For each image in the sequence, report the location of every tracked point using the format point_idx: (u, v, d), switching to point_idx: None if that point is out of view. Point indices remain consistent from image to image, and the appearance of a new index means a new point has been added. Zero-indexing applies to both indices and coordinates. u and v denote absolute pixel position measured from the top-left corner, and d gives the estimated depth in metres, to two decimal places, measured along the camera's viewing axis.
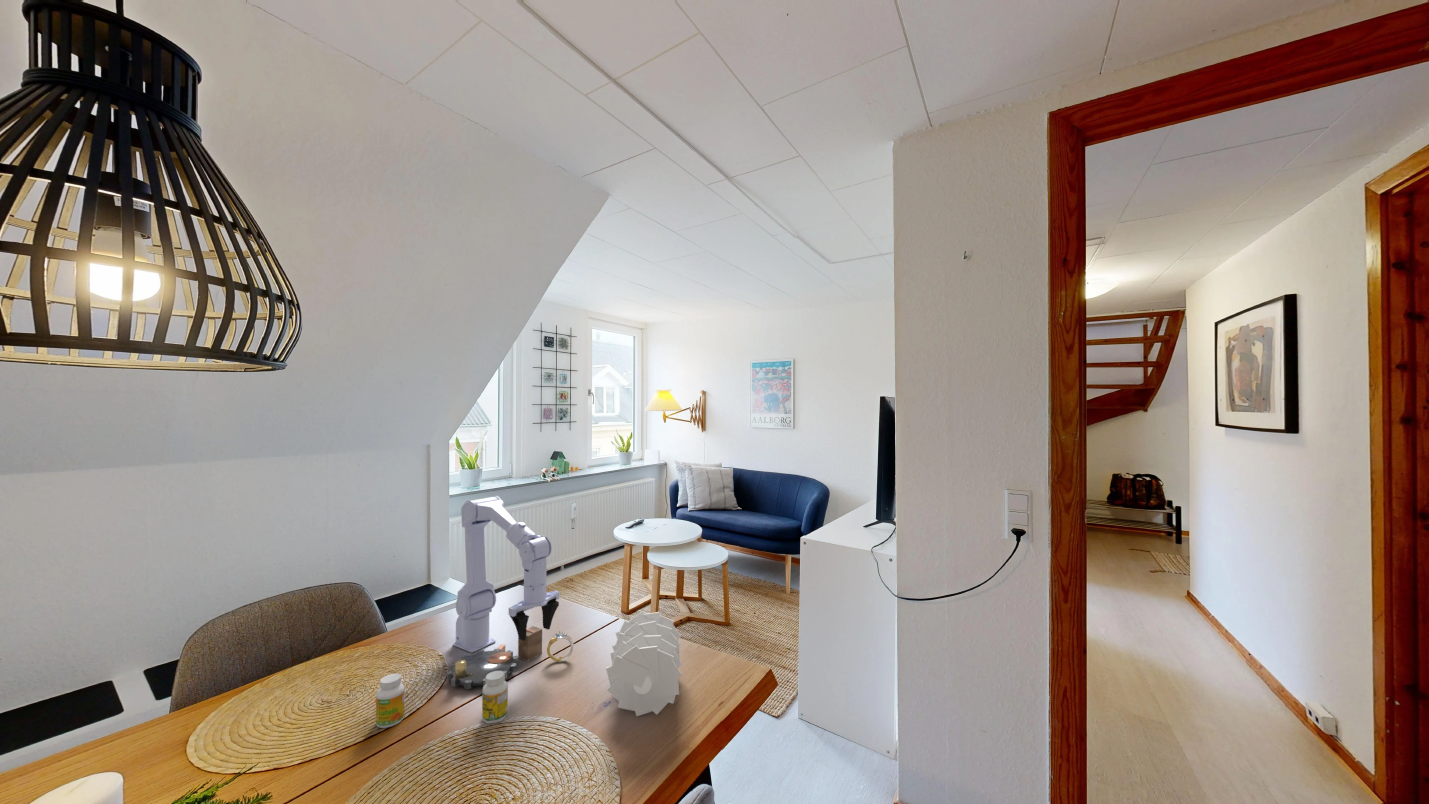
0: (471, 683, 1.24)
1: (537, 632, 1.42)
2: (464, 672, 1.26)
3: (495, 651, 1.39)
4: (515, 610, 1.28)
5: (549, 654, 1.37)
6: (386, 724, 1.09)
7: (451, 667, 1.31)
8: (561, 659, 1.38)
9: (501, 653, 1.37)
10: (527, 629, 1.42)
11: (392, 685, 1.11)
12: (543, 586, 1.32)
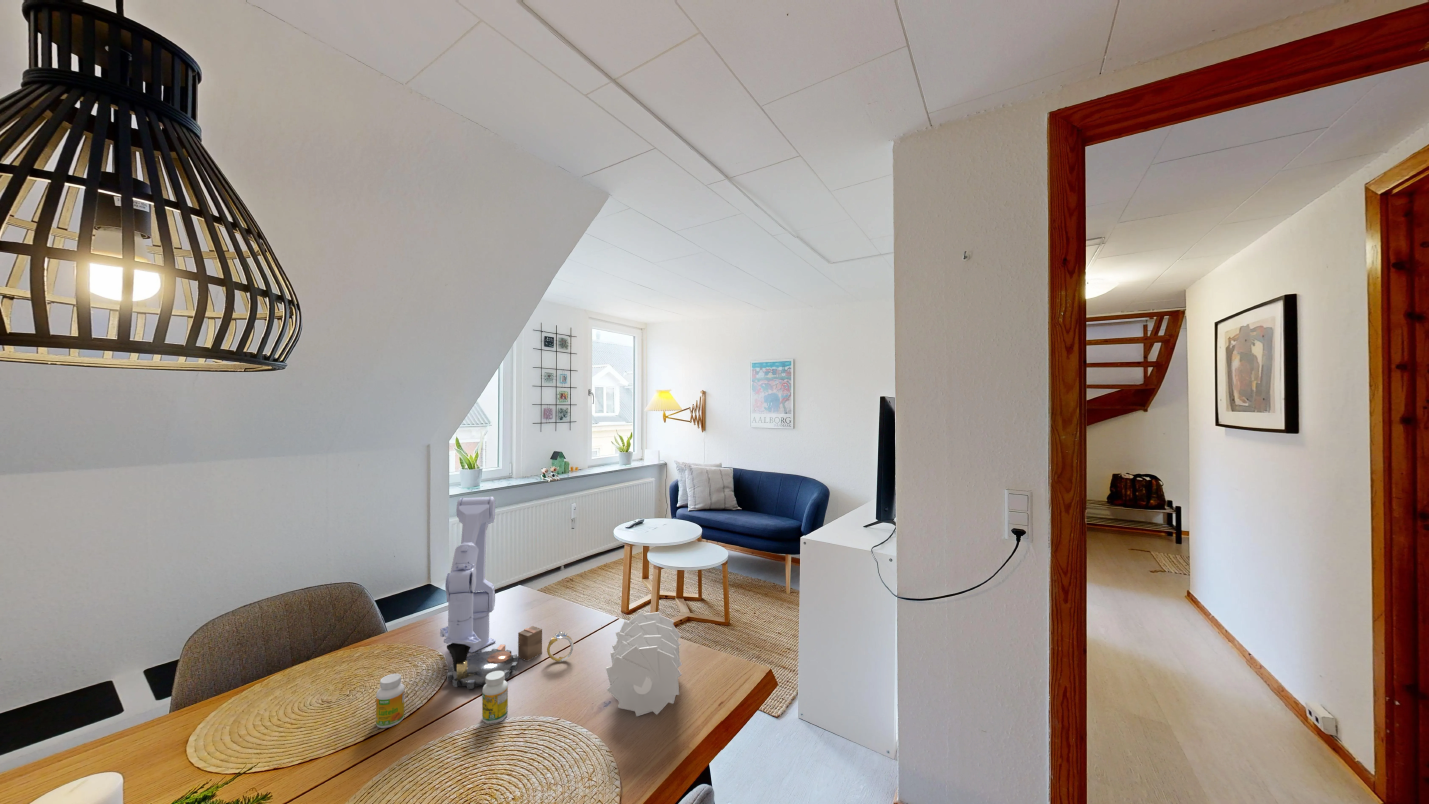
0: (474, 683, 1.24)
1: (537, 632, 1.42)
2: (466, 672, 1.26)
3: (493, 651, 1.39)
4: (441, 631, 1.30)
5: (549, 654, 1.37)
6: (386, 724, 1.09)
7: (450, 668, 1.30)
8: (561, 659, 1.38)
9: (500, 653, 1.37)
10: (527, 629, 1.42)
11: (392, 685, 1.11)
12: (451, 623, 1.24)
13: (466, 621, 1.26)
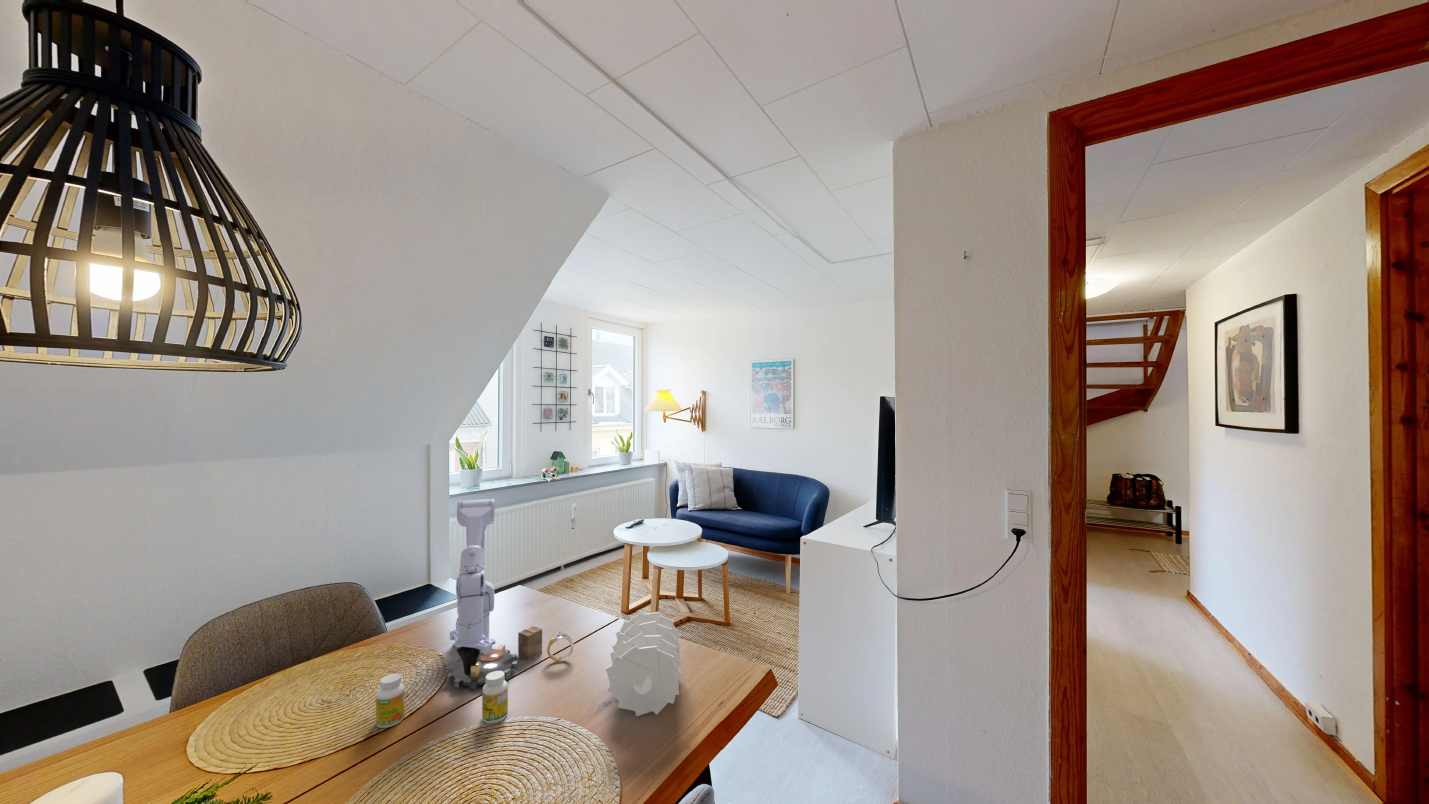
0: None
1: (537, 632, 1.42)
2: (480, 672, 1.26)
3: None
4: (451, 634, 1.28)
5: (549, 654, 1.37)
6: (386, 724, 1.09)
7: (450, 677, 1.26)
8: (561, 659, 1.38)
9: None
10: (527, 629, 1.42)
11: (392, 685, 1.11)
12: (461, 627, 1.23)
13: (476, 624, 1.24)
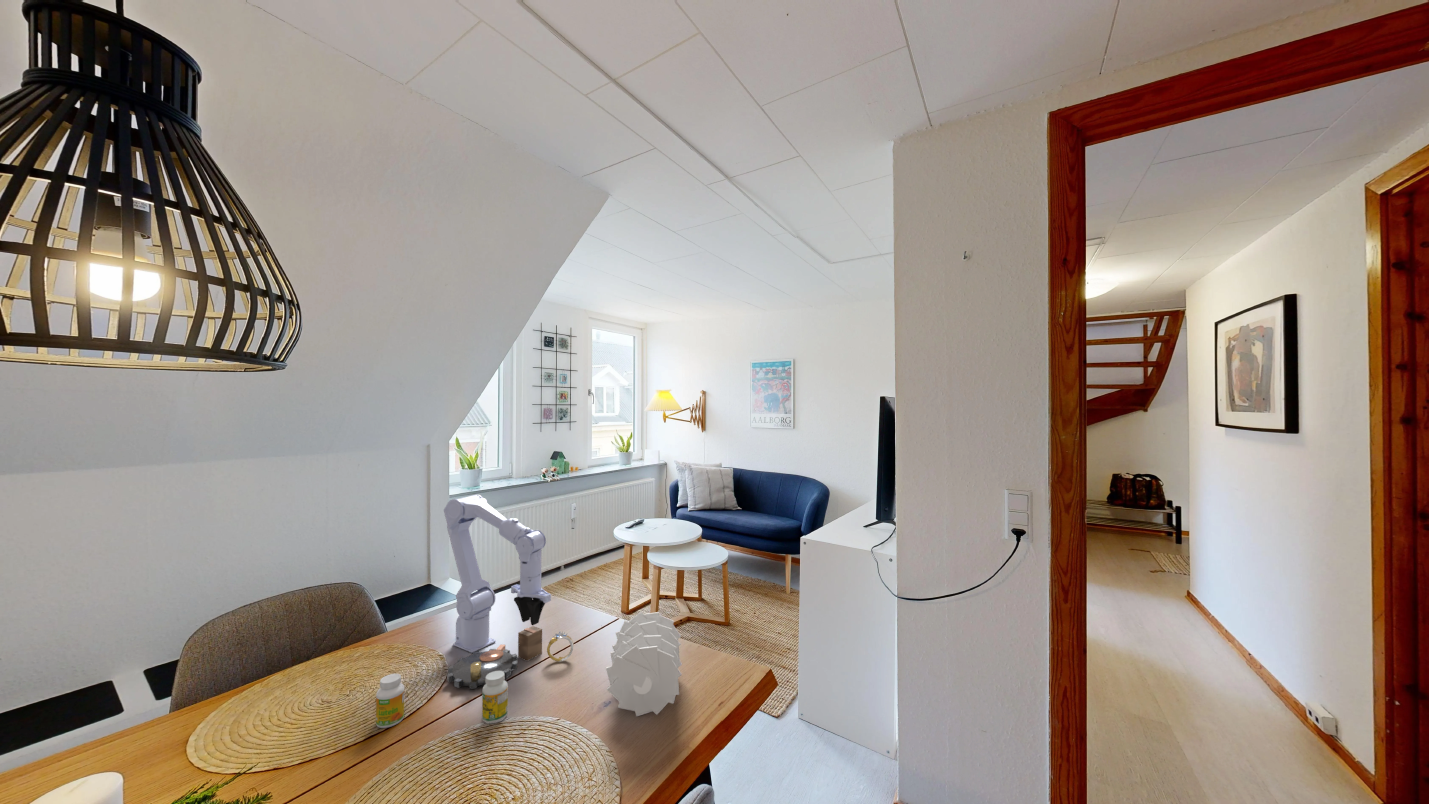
0: None
1: (537, 632, 1.42)
2: (480, 672, 1.26)
3: (477, 654, 1.37)
4: (512, 588, 1.44)
5: (549, 654, 1.37)
6: (386, 724, 1.09)
7: (450, 677, 1.26)
8: (561, 659, 1.38)
9: (487, 652, 1.37)
10: (527, 629, 1.42)
11: (392, 685, 1.11)
12: (524, 579, 1.39)
13: (536, 577, 1.40)
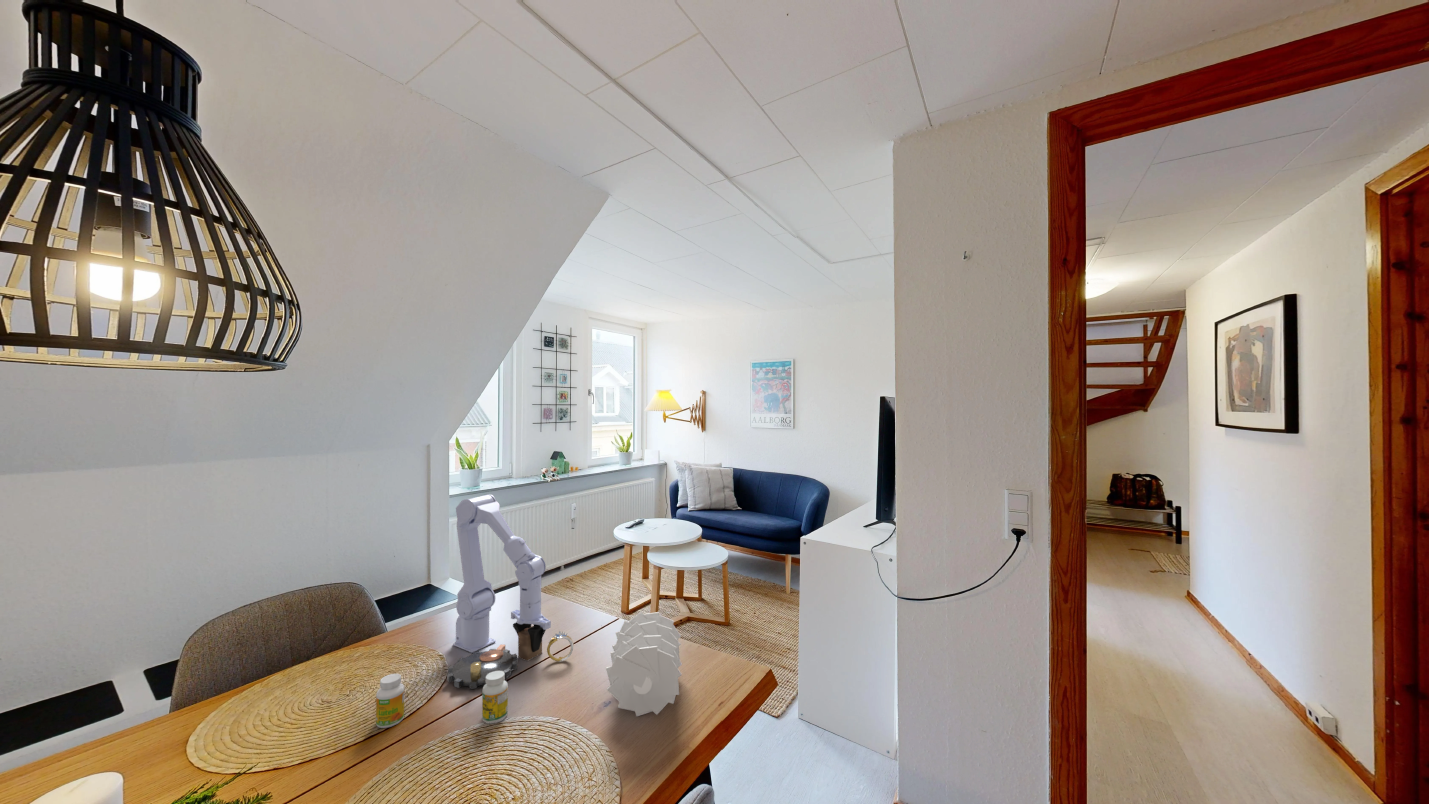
0: None
1: None
2: (480, 672, 1.26)
3: (477, 654, 1.37)
4: (512, 614, 1.44)
5: (549, 654, 1.37)
6: (386, 724, 1.09)
7: (450, 677, 1.26)
8: (561, 659, 1.38)
9: (487, 652, 1.37)
10: None
11: (392, 685, 1.11)
12: (523, 606, 1.39)
13: (536, 604, 1.40)
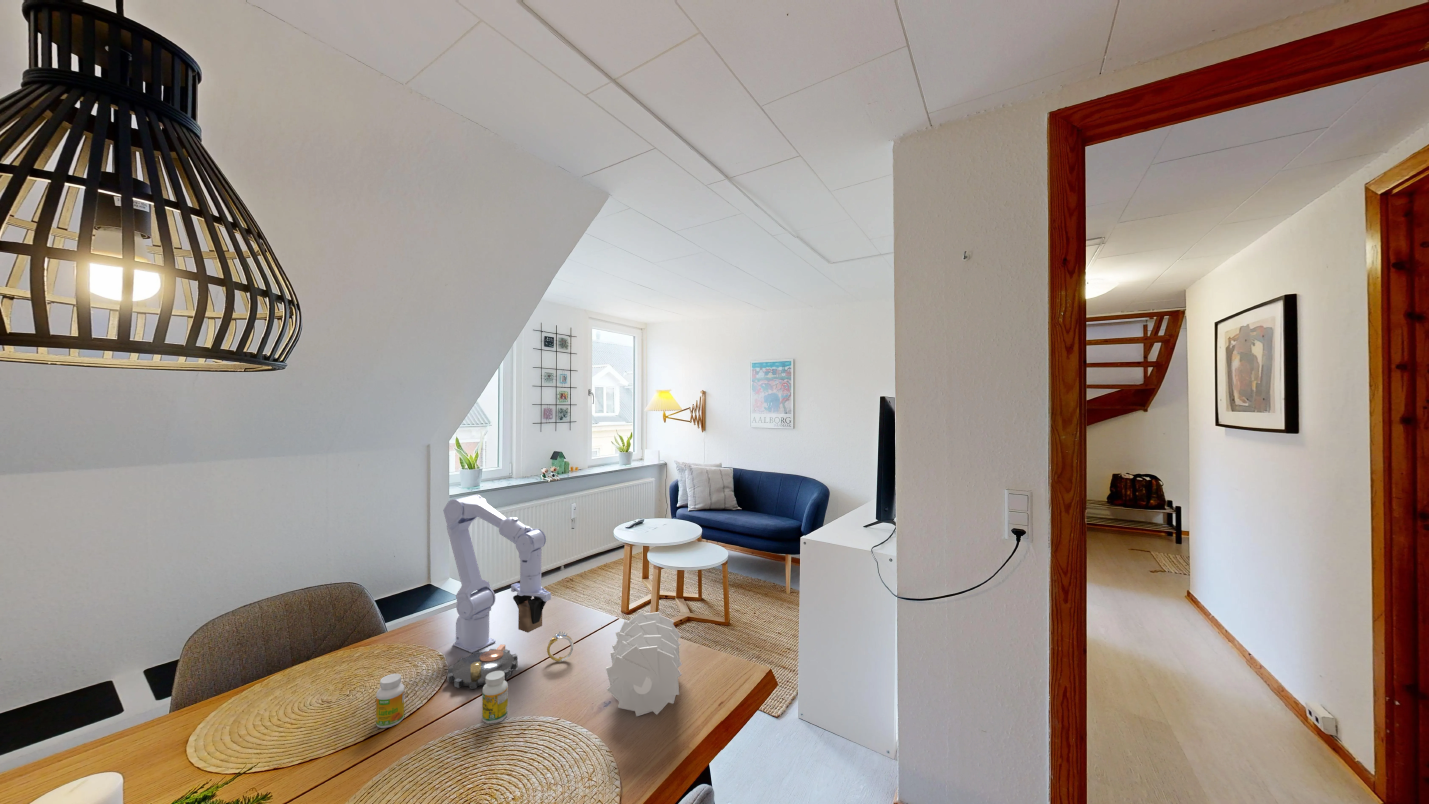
0: None
1: None
2: (480, 672, 1.26)
3: (477, 654, 1.37)
4: (512, 587, 1.44)
5: (549, 654, 1.37)
6: (386, 724, 1.09)
7: (450, 677, 1.26)
8: (561, 659, 1.38)
9: (487, 652, 1.37)
10: (527, 601, 1.42)
11: (392, 685, 1.11)
12: (524, 578, 1.39)
13: (536, 576, 1.40)
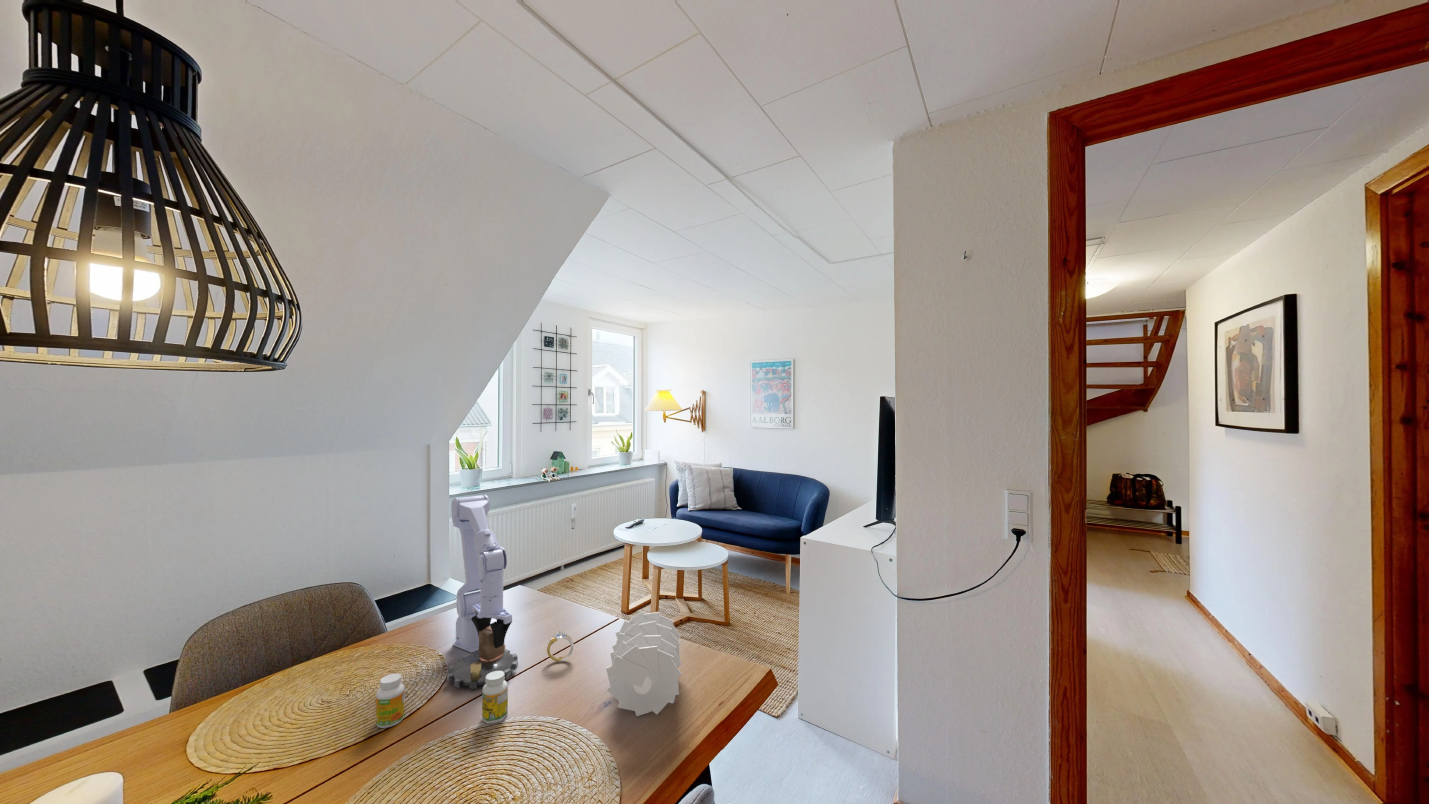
0: None
1: None
2: (480, 672, 1.26)
3: (477, 654, 1.37)
4: (473, 608, 1.39)
5: (549, 654, 1.37)
6: (386, 724, 1.09)
7: (450, 677, 1.26)
8: (561, 659, 1.38)
9: None
10: (488, 628, 1.37)
11: (392, 685, 1.11)
12: (484, 599, 1.34)
13: (497, 597, 1.35)
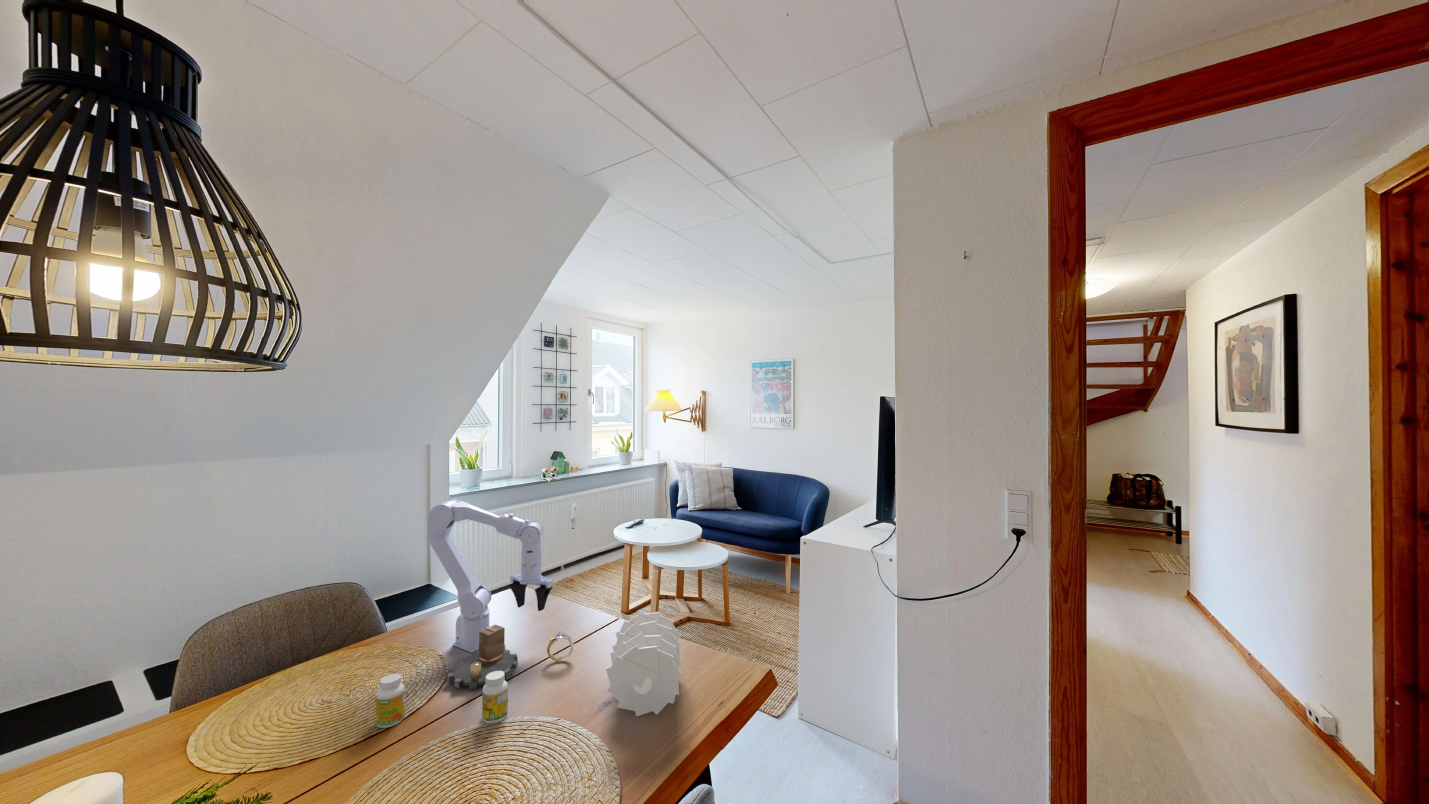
0: None
1: (499, 631, 1.36)
2: (480, 672, 1.26)
3: (477, 654, 1.37)
4: (511, 577, 1.52)
5: (549, 654, 1.37)
6: (386, 724, 1.09)
7: (450, 677, 1.26)
8: (561, 659, 1.38)
9: None
10: (489, 628, 1.37)
11: (392, 685, 1.11)
12: (526, 567, 1.48)
13: (538, 565, 1.49)
